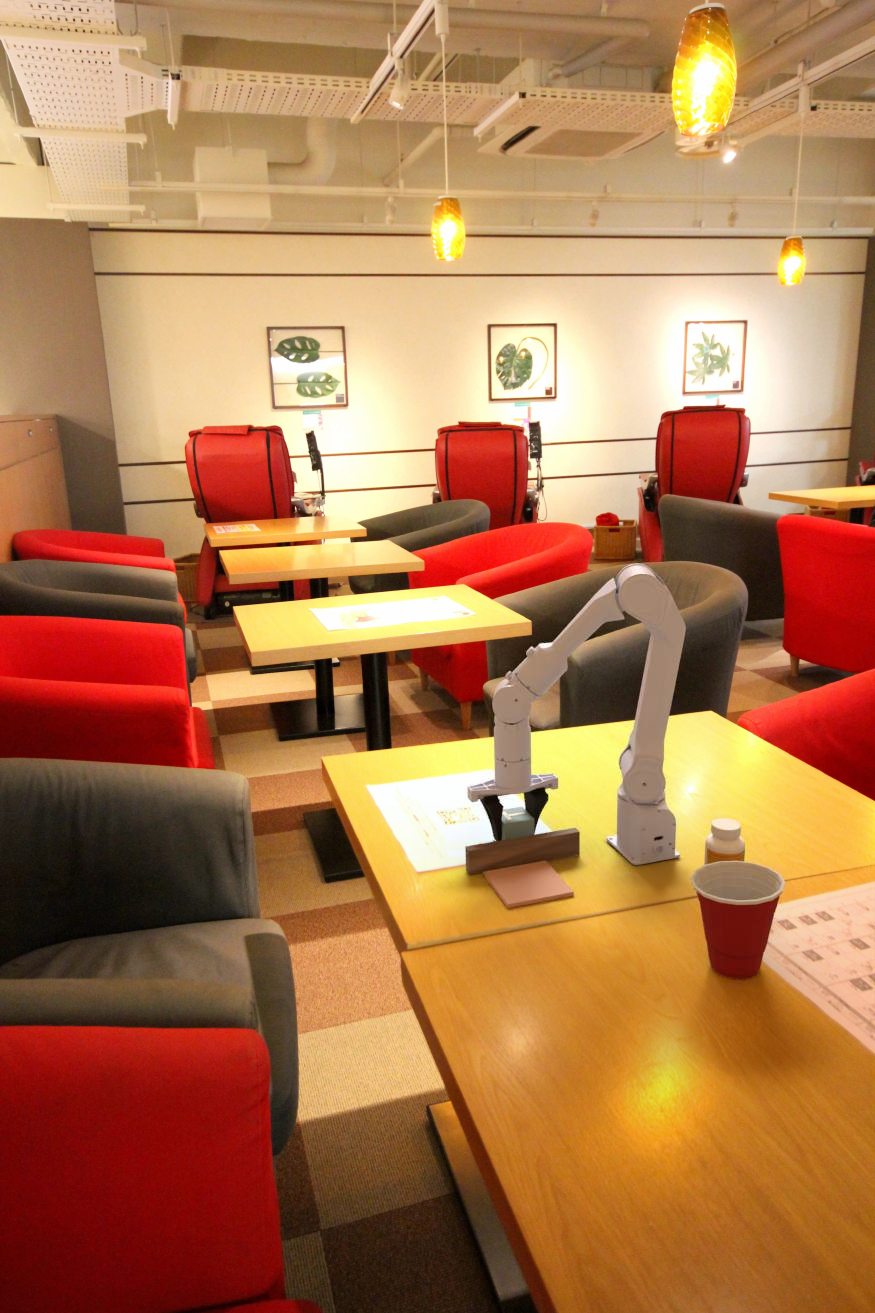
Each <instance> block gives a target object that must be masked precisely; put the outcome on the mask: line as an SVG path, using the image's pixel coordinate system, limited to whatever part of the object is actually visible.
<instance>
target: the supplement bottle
mask: <svg viewBox="0 0 875 1313" xmlns="http://www.w3.org/2000/svg"><path fill="white" fill-rule="evenodd" d="M710 826H711V827H710V832H711V833H710V834H708V835H707V836H706V838H705V844H704V845H705V846H704V847H705V848H704V864H703V865H706V864H710V863H715V862H719V861H744V862H745V857H746V855H745V854H746V842H745V840H744V838H743V837H742V836H741V832H742V825H741V823H740V822H738V821H737V820H735V819H731V818H726V817H725V818H724V817H723V818H716V819H715V818H714V820H712V821H711V825H710Z"/></svg>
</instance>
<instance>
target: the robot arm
mask: <svg viewBox="0 0 875 1313" xmlns="http://www.w3.org/2000/svg"><path fill="white" fill-rule="evenodd" d="M624 612H626V613H627V614H628V615H630V616H631V617H633V618H635V620H638V621H640V622H642V624H643V626H644V627H645V628H646V630H647V631H648V632H649V633H650V637H649V642H648V648H647V653H646V658H645V659H646V660H645V664H644V670H643V675H642V680H641V686H640V692H639V696H638V701H637V708H636V712H635V713H636V714H635V717H634V723H633V729H632V731H631V732H630V734H629V739H628V741H627V742H628V743H627V746H626V747H625V748H624V749H623V750H622V752H621V753H620V755H619V757H618V758H619V759H618V766H619V769H620V771H621V778H622V783H621V784H620V785H619V786H618V787H617V799H616V802H617V804H616V834H615V835H608V836H606V837H605V841H607V842H608V843H609V844H610V845H611V846H612V847H613V848H614V849H616V851H618V852H619V853H620V854H621V855H622V856H623V857H624V858H625V859H626V860H627V861H629V862H630V863H631V864H632V865H633V866H639V865H645V864H650V863H654V862H660V861H666V860H672V859H676V858H680V857H681V853H680V852H679V851H677V850H676V840H677V839H676V837H677V835H676V831H677V821H676V817H675V815H674V813H673V812H672V810H670V808H669V807H668V804H667V802H666V785H667V781H666V777H665V774H664V770H663V768H664V761H665V739H666V733H667V728H668V723H669V717H670V712H671V708H672V703H673V696H674V692H675V688H676V681H677V677H678V672H679V666H680V661H681V657H682V652H683V647H684V643H685V642H684V641H685V635H686V631H687V628H686V623H685V621H684V619H683V617H682V614H681V613H680V610H679V608H678V606H677V604H676V602H675V599H674V598H673V595H672V593H671V590H669V588H668V587H667V586H666V583H665V582H664V580H663V579H661V577H660V576H659V575H658V574H657V573H656V572H655V571H654V570H653V569H652V568H651V567H650V566H647V565H646V564H642V563H631V564H628V565H626V566H624V567H622V569H620V571H619V572H618V573H617V575H616V577H615V578H614V577H612V578H610V580H608V581H607V582H606V583H605V584H604V585H603V586H602V587H601V588H600V589H599V590H598V591H597V592H596V593H595V594H594V595H593V596H592V597H591V598H590V600H588V601H587V603H586V604H585V605H584V606H583V607H582V609H581V610H580V611H579V612H578V613H577V614H576V615H575V617H574V618H573V619H571V621H569V623H568V624H567V626H565V628H563V630H562V631H561V632H560V633H559V635H558V636H557V637H556V638H555V639H554V640H553V641H552V642H545V643H544V642H540V643H539V644H538V645H537V646H535V647H534V646H530V647H529V648H528V649H527V650H526V651H525V652H526V654H525V655H526V658H524V659H523V661H522V662H521V663H519V665H517V667H515V669H513V671H511V670H509V671H508V672H506V674H505V678H504V679H503V680H500V682H499V683H497V685H496V687H495V688H494V693H493V697H492V701H491V704H492V711H493V713H494V717H493V722H494V723H493V724H495V725H494V727H493V750H494V751H493V752H494V754H493V755H494V756H493V757H494V759H493V760H494V778H492V779H489V780H486V781H484V782H480V783H476V784H474V785H473V784H472V785H468V786H466V787H467V799H468V800H469V801H470V802H471V803H476V802H478V801H480V803H481V805H482V806H483V807H482V808H484V811H485V813H486V815H487V818H488V820H489V823H490V826H491V827H490V828H491V831H492V837H493V839H494V838H495V839H496V840H497V841H500V840H502V825H501V822H502V812H503V810H504V805H503V804H502V803H501V801H500V798H499V797H505V796H509V795H520V794H523V798H524V809H525V810H526V811H527V812H528V813H529V814H530V815H531V816H532V817H533V818H534V831H535V832H536V830H537V825H538V822H539V819H540V816H541V814H542V811H543V810H544V808H545V807H546V805H547V803H548V802H549V793H547V791H546V790H548V789H551V790H553V791H554V790H558V789H559V777H558V776H557V775H555V773H545V774H542V773H541V774H540V773H538V774H536V773H535V774H532V728H531V726H530V713H531V712H532V703H533V702H535V701H537V700H539V699H541V697H542V696H543V695H544V694H545V693H546V692H548V690H549V689H550V688H551V687H552V686H553V685H554V684H555V683H556V682H557V681H558V680H560V678H561V677H562V676H563V675H564V674H565V673H566V672H567V671H568V667H569V666H568V657H570V655H572V654H573V653H574V652H575V651H576V650H577V649H578V648H579V647H580V646H582V644H583V643H585V641H587V640H588V639H589V638H590V637H591V636H593V634H594V633H595V632H596V631H597V630H598V629H599V628H600V627H601V626H602V625H603V624H605V623H608V622H615V621H622V620H625V619H626V618H625V614H624Z"/></svg>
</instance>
